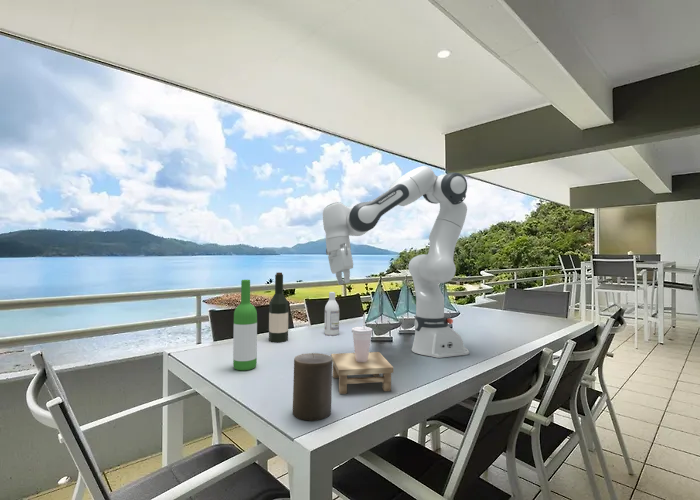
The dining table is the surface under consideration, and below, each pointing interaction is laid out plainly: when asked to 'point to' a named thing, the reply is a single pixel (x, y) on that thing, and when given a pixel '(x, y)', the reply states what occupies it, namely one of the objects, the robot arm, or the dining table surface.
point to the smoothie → (362, 341)
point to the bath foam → (332, 316)
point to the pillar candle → (312, 386)
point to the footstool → (361, 370)
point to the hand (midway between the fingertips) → (343, 283)
